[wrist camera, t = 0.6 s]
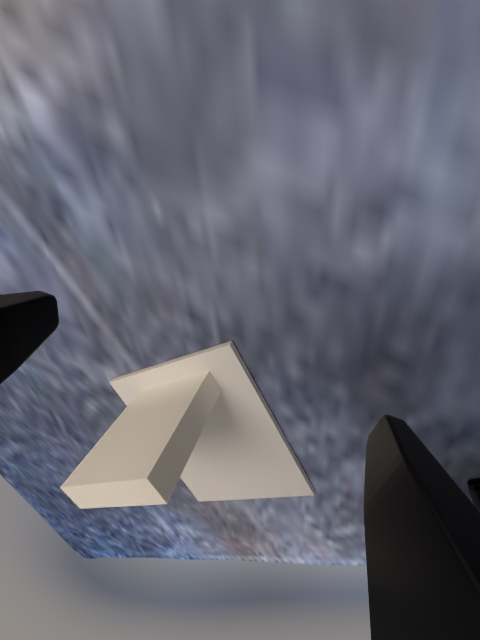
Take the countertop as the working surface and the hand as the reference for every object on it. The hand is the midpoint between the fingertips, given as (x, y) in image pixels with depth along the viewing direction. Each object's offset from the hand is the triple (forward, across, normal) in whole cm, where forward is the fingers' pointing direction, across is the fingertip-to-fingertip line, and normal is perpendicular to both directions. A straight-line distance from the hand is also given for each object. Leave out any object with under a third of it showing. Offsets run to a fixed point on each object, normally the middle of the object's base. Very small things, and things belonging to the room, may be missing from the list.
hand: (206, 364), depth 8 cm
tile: (+13, +5, +15) cm, 21 cm away
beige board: (+14, +1, +20) cm, 24 cm away
